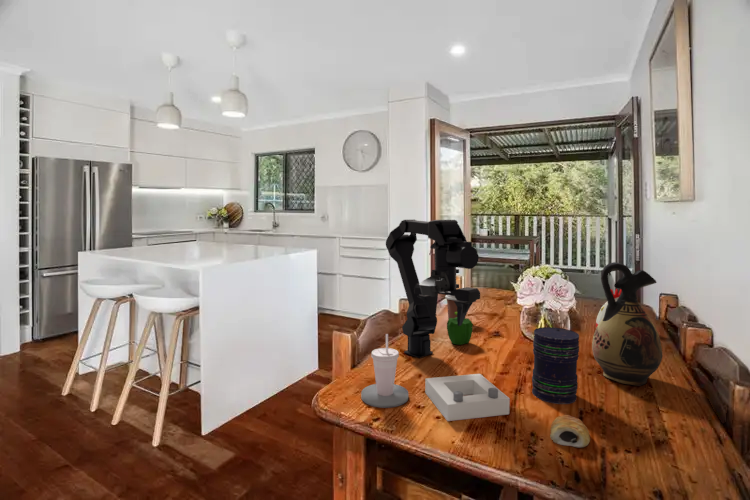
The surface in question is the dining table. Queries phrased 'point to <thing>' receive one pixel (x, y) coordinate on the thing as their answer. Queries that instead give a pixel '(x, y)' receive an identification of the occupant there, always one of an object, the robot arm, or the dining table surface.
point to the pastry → (569, 431)
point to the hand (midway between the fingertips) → (445, 322)
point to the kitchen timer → (603, 309)
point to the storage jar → (555, 365)
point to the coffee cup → (451, 306)
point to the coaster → (384, 397)
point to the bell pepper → (459, 331)
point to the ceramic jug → (626, 331)
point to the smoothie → (385, 368)
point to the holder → (466, 397)
